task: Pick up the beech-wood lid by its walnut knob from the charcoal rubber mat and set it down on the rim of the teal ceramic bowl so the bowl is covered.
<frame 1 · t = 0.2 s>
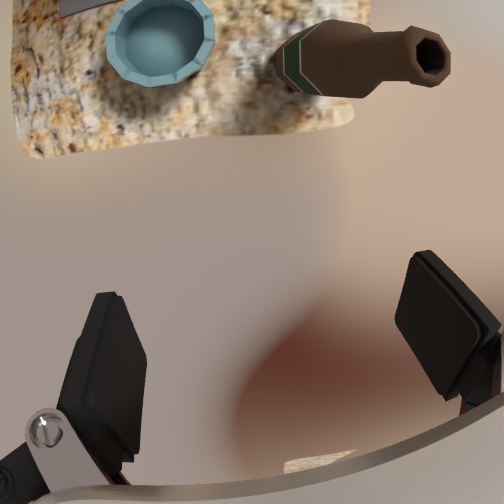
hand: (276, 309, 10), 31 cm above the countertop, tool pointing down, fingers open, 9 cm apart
beer bottle: (303, 63, 32), on the countertop
bowl: (165, 41, 29), on the countertop
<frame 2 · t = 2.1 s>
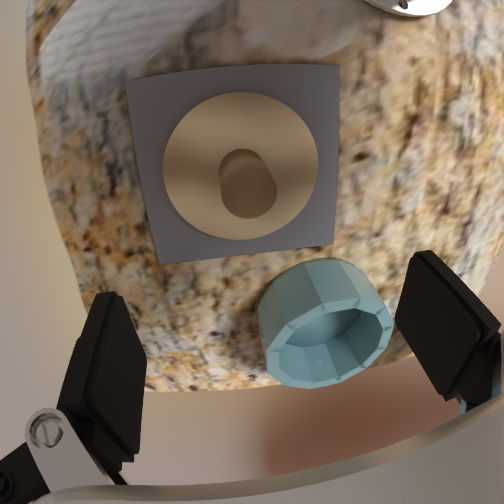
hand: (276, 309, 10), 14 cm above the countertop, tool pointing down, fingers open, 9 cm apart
lid: (240, 167, 21), resting on mat
mat: (240, 165, 21), on the countertop
bowl: (315, 306, 29), on the countertop
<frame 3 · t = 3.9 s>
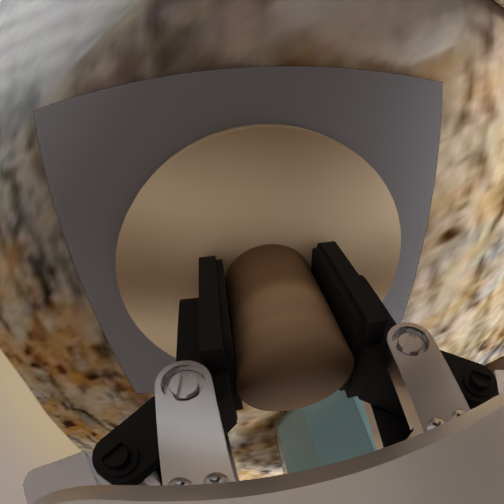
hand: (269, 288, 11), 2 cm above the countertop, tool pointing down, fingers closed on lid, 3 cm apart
lid: (263, 269, 12), resting on mat, touching gripper
mat: (261, 264, 12), on the countertop
bowl: (350, 413, 20), on the countertop
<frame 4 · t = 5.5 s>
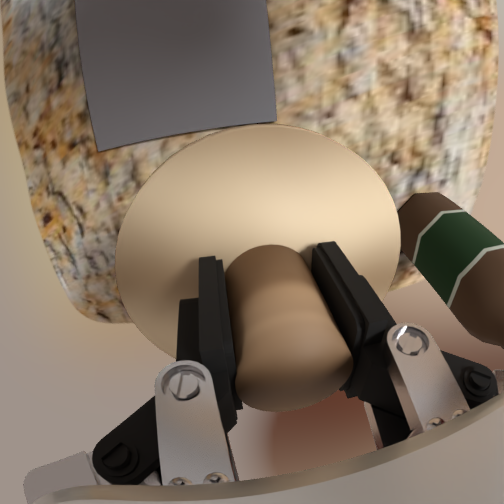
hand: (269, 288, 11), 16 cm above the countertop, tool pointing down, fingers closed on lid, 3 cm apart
lid: (263, 269, 12), point 15 cm above the countertop, touching gripper
mat: (172, 44, 18), on the countertop
beer bottle: (419, 220, 30), on the countertop
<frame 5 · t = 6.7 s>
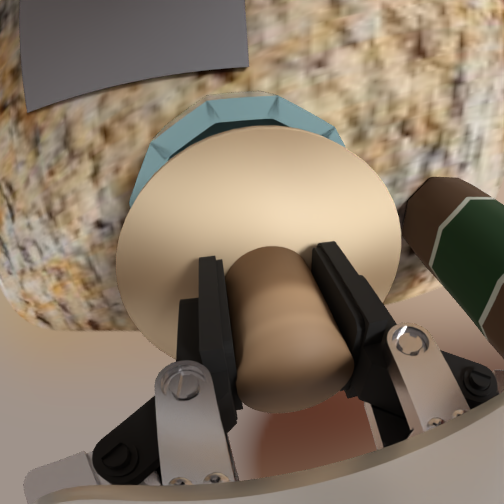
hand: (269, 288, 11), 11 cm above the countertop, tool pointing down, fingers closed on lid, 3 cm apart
lid: (264, 270, 12), point 9 cm above the countertop, touching gripper
beer bottle: (433, 213, 23), on the countertop
bowl: (239, 179, 19), on the countertop
when the fingers open (8 cm above the countertop, at t = 7.3 s): lid drops 2 cm, resting on bowl.
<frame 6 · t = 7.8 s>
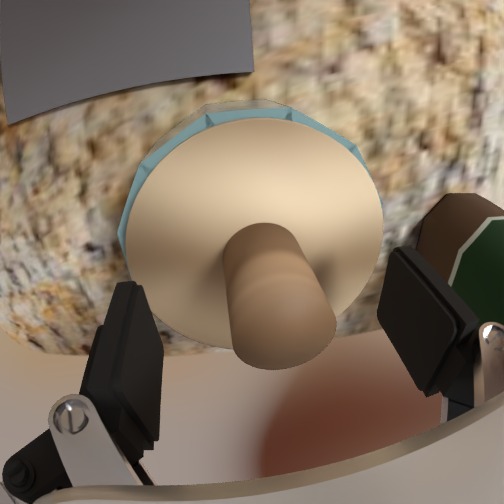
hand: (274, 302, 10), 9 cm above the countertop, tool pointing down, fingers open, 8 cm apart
lid: (258, 247, 13), point 5 cm above the countertop, touching bowl
beer bottle: (449, 231, 21), on the countertop
bowl: (242, 198, 17), on the countertop
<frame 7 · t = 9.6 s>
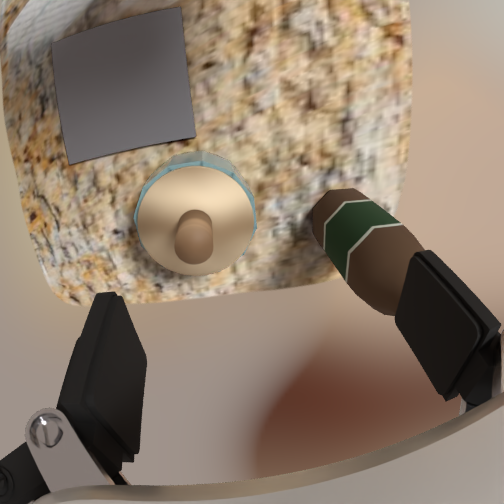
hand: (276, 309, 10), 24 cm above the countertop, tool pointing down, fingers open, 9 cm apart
lid: (195, 221, 28), point 5 cm above the countertop, touching bowl
mat: (118, 84, 26), on the countertop
beer bottle: (339, 215, 36), on the countertop
bowl: (196, 202, 33), on the countertop
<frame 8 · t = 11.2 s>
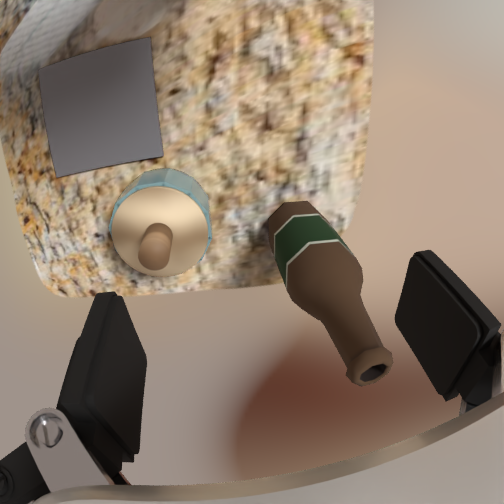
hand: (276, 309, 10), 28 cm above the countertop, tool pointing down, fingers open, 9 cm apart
lid: (159, 232, 32), point 5 cm above the countertop, touching bowl
mat: (97, 108, 29), on the countertop
beer bottle: (294, 224, 41), on the countertop
bowl: (164, 211, 37), on the countertop
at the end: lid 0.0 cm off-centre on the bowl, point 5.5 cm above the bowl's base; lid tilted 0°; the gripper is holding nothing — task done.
